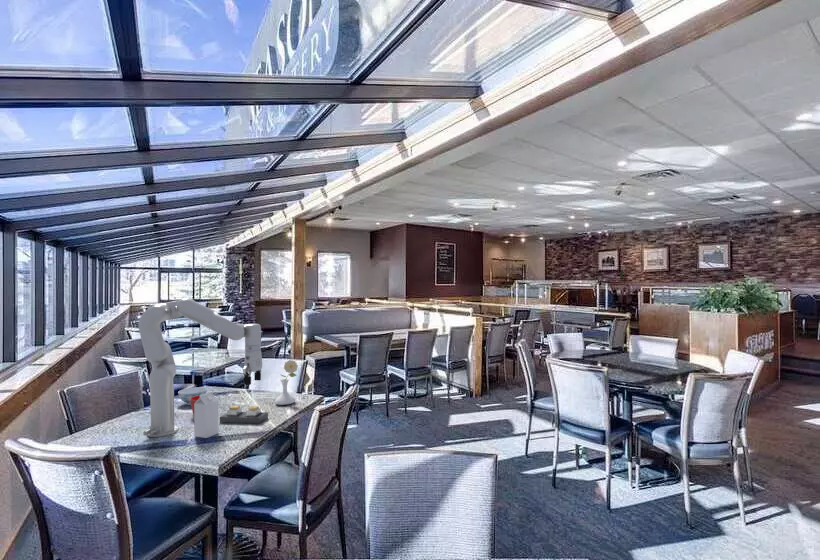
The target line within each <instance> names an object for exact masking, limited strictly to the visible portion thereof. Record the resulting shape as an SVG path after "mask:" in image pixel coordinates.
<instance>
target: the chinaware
mask: <svg viewBox="0 0 820 560" xmlns="http://www.w3.org/2000/svg"><path fill="white" fill-rule="evenodd" d="M207 391H208V388H207V387H203V386H199V387H197V386H195V387H187V388H183V389H181V390H179V391H178V392H177V394H178V396H179V399H180V400H181V401H182V402H184V403H186V404H185V405H186V406H191V402H190V398H192V397H194V396H198V395H203V394H206V393H208V392H207Z"/></svg>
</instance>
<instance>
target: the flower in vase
mask: <svg viewBox="0 0 820 560" xmlns="http://www.w3.org/2000/svg"><path fill="white" fill-rule="evenodd" d="M283 369H284V371H285V372H286V373H288V374H287V376H286V375H285V374H284V375H282V374H280V376H281V377H284V378H282V379H280V382H281V384H282V393H281V394H279V396H278V397H276V398H275V400H274V403H275V404H276V405H280V406H285V405H290V404H293V403H295V402H296V398H295V397H294V396H293V395H292V394H290V393H289V392H288V383H289V381H290V379H289V378H288V377H290V378H295V377H297V374H296V373H295V372H296V371H298V369H299V368H298V364H297V362H296V361H295V360H293V359H292V360H291V359H289V360H287V361H286V362H284V365H283Z"/></svg>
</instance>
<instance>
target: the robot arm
mask: <svg viewBox="0 0 820 560" xmlns="http://www.w3.org/2000/svg"><path fill="white" fill-rule="evenodd" d="M140 315H141V316H140V317H139V320H138V331H139V335H140V340H141V344H142V348H143V351H144V357H145V359H146V360H147V362H149V363H151V366H152V370H151V371H150V374H149V377H148V382H149V391H150V392H149V395H150V397H149V398H150V399H149V400H150V403H149V404H150V425H149V426H148V427H149V428H148V429H146V430H144V431H143V433H142V434H143V435H144V436H147V437H150V438H159V437H166V436H170V435H172V434H175V433H177V432H178V431H179V427H178V426H176V425H175V388H174V377H175V376H176V375H177V366H176V363H175V360H174V359H175V358H174V355H173V351H172V348H171V346H170V344H169V343H168V342H166V341H165V340H164V338H163V337H164V336H163V333H162V329H161V324H162V322H166V321H169V320H170V321H171V320H173V319H177V318H182V317H184V318H187V319H188V320H190V321H192V322H195V323H197V324H199V325H201V326H203V327H205V328H207V329H209V330H211V331H213V332H215V333H217V334H220V335H221V336H224V337H225V338H228V339H230V340H232V341H240V340H242V338H244V353H245V354H244V363H243V365H244V366H243V368H242V374H243V377H244V378H243V379H244V382H243V383H244V385H246V386H247V385H248V386H251V385H252V376H251V375H252V373H254V381H261V380H262V369H263V357H262V356H263V354H262V336H261V335H262V326H261V324H259V323H248V324H247V323H235V322H232V321H231V320H229V319H227V318H225V317H223V316H222V315H221V314H220V313H218V312H217V311H215V310H214V309H212V308H210V307H207V306H205V305H203V304H201V303H199V302H197V301H196V300H194V299H193V298H190V297H185V298H181V299H177V300H174V301H169V302H164V303H158V304H155V305H152V306H150V307H149V308H147V309H145V311H144V312H142V314H140Z"/></svg>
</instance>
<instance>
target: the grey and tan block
mask: <svg viewBox="0 0 820 560" xmlns="http://www.w3.org/2000/svg"><path fill="white" fill-rule="evenodd" d="M261 410H262V409H261V407H259V405H251V406H249V407H248V408H247V410H246V411H245V412H246V417H258V416H259V415H261V412H262V411H261Z"/></svg>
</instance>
